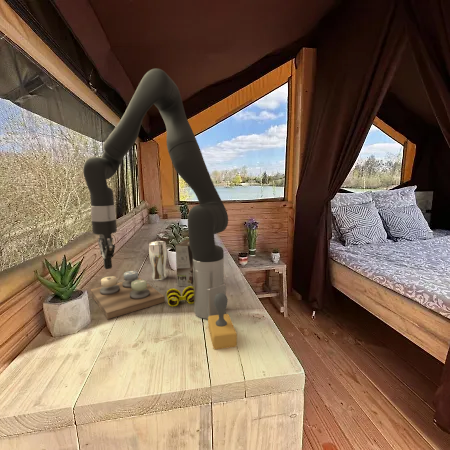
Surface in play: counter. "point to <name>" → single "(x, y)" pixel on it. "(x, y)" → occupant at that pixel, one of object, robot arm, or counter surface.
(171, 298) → the opera glasses
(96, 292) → the button board
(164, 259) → the beer glass
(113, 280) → the button
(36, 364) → the counter surface
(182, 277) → the coffee box
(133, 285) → the button
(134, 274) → the button
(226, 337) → the rubber stamp
